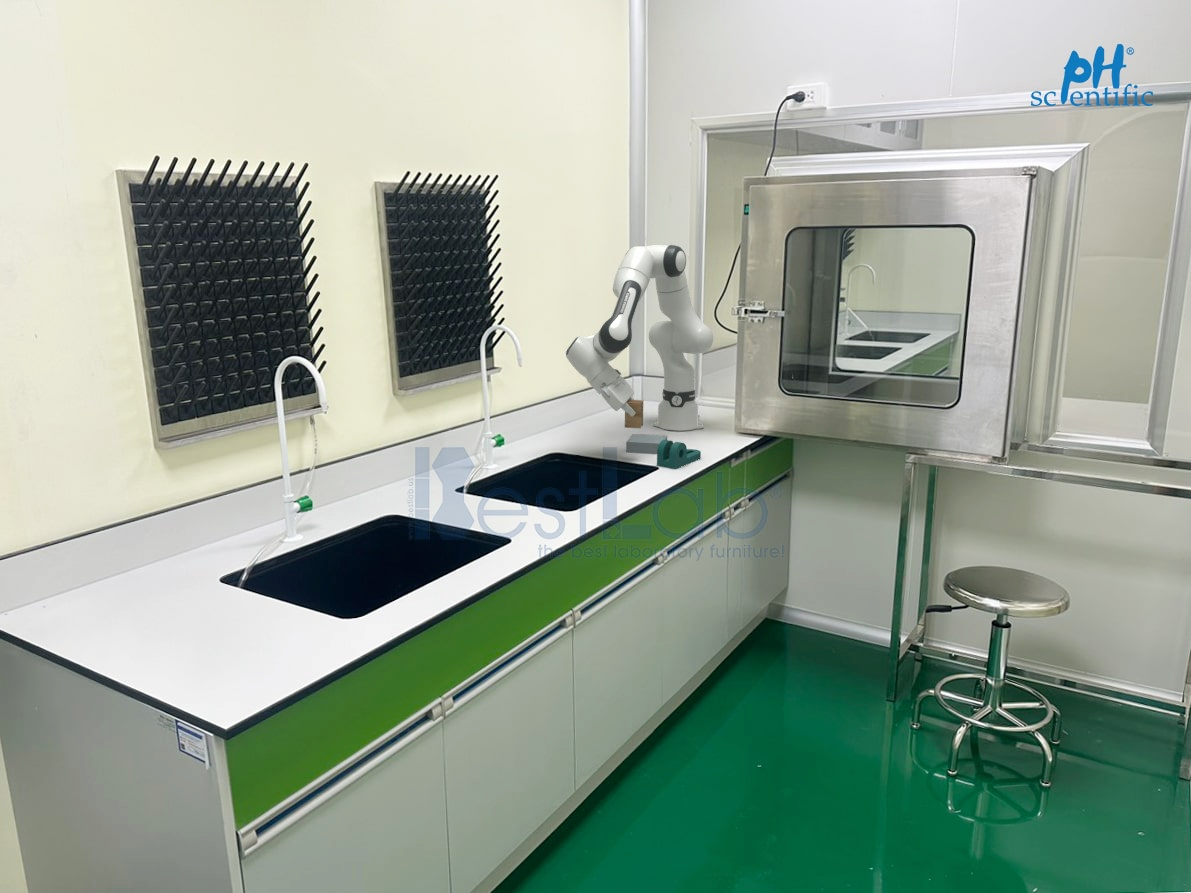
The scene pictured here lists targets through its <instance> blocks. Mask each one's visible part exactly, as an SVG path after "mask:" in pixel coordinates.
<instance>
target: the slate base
mask: <svg viewBox="0 0 1191 893" xmlns="http://www.w3.org/2000/svg"><path fill="white" fill-rule="evenodd" d="M662 440H668V435H667V434H665V435H664V434H643V433H631V435H630V436H629V438H628V439H627V440H626V443H625V448H626V449H625V451H626V452H625V453H632V454H649V455H650V454H651V455H657V449H658V445H659V443H660V442H661V441H662Z"/></svg>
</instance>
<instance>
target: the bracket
mask: <svg viewBox="0 0 1191 893" xmlns="http://www.w3.org/2000/svg"><path fill="white" fill-rule="evenodd" d="M701 453H702V452H701V450H698V449H692V448H687V445H686V443H684V442H680V441H675V442H673V440H668V439H667V440H662V441H661V442H660V443H659V445H658V449H657V454H656V466H657V467H662V468H667V469H670V470H671V469H672V470H678V469H680V468H682V467H685V466H687V465H689V464H691V462H692V463H694V462H696V460H697V461H699V460H701ZM698 459H699V460H698ZM686 464H687V465H686ZM684 465H685V466H684ZM681 466H682V467H681ZM679 467H680V468H679Z"/></svg>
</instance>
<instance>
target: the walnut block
mask: <svg viewBox="0 0 1191 893" xmlns="http://www.w3.org/2000/svg"><path fill="white" fill-rule="evenodd" d="M627 404H628V405H629V406H630V407H631V408H632V409H634V410H635V411H636V414H635V415H634V416H630V415H629V414H628V413H627V412H625V411H624V428H628V429H629V428H630V429H641V428H642V427H643V425H644V399H643V400H642V399H634V400H628V401H627Z"/></svg>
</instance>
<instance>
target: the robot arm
mask: <svg viewBox="0 0 1191 893" xmlns="http://www.w3.org/2000/svg"><path fill="white" fill-rule="evenodd" d="M686 266H687V255H686V253H685V251H684V250H683V249H682V248H681V247H680V246H679V245H673V244H670V245H667V244H666V245H665V244H653V245H643V246H641V245H639V246H638V245H637V246H633V247H631V248H629V249H628V250H627V251H626V253H625V255H624V257H623V258H622V260H621V262H620V264H619V266H618V269H617V271H616V273H615V277H614V280H613V284H612V292H613V294H614V296H615V297H616V298H617V300H616V304H615V307H614V309H613V313H612V315H611V317H610V318H609V319H607V320H606V321H605V322H604V323H602V324H603V325H602V326H601V327H600V329H599V330H598V331H597V333H594V334H590V335H586V336H585V335H584V336H577V337H575V338H574V340H573V341H572V343H571V344H569V346H568V348H567V349H566V352H565V356H566V359H567V360H568V362H569V363H570V364H571V365H572V367H573V368H574V369H575V370H576V371H577V373H579V374H580V375H581V376H582V377H584V378H585V380H586V381H587V383H588V384H589V385H590V386H591V387H592V389H594V390H595V391H596V393H597V394H599V395H601V397H602V398H603V399H604V400H605V402H606V403H607V404H608V405H609V406H610V408H611V409H613V410H614V411H615V412H618V411H619V410H620V409H622V411H624V413H625V412H627V413H628V414H629V415H630V416H634V415H635V414H636V411H635V410H634V409H632V408H631V407H630V406H629V405H628V404H627V401H628V400H635V399H634V398H633V397H632V396H634V395H635V390H634V389H633V388H632V386H631V385H630V384H629V382H627V380H626V379H625V378H624V377H623V376H622V373H621V371H619V369H616V368H614V367H612V365H610V362H612V361H613V360H615V359H616V358H617V357H618V356H619V355H620V354H622V352H623V351H624V350H625V349H627V348H628V347H629V345H630V344H631V342H632V337H633V330H632V322H633V318H634V316H635V312H636V309H637V306H638V303H639V302H640V301H641V299H642V298H643V296H644V295H645V293H646V290H647V288H648V286H649V283H650V281H651V279H655V287H656V293H657V300H658V306H659V309H660V311H661V313H662V314H663V315H665V316H666V317H667V318H669V320H664V321H657V322H655V323H653V324H652V325H651V327H650V328H649V332H648V339H649V340H648V341H649V343H650V345H651V347H652V348H654V349H655V351H656V352H657V354H658V355H659V357H660V360H661V362H662V366H663V382H664V383H663V384H664V385H663V387H664V388H663V389H662V401H661V402H660V403H658V409H657V420H656V421H654V422H653V423H652V426H653V427H657V428H660V429H663V430H668V431H692V430H699V429H704V424H703V422H702V420H701V418H700V414H699V405H698V403H696V401H695V400H696V389H695V368H694V366H693V365H692V364H691V363H690V362H688V360H687V359H686V358H685V354H692V355H695V354H704V353H707V352H709V350H710V349H711V347H712V346H713V343H714V334H713V331H712V330H711V328H710V327H709V326H708V325H706V324H705V323H704V322H703V321H702V320H701V319H700V318H699V316H698V315H697V313H696V311H695V309H694V306H693V304H692V300H691V297H690V292H689V287H688V286H689V285H688V279H687V276H686V271H685V270H686Z"/></svg>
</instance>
